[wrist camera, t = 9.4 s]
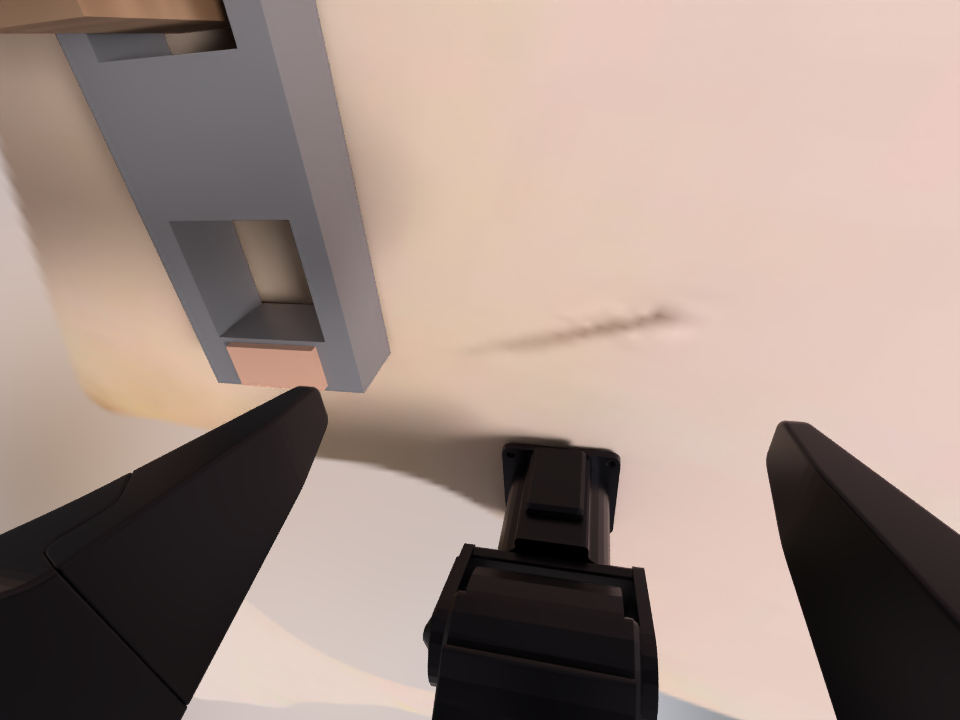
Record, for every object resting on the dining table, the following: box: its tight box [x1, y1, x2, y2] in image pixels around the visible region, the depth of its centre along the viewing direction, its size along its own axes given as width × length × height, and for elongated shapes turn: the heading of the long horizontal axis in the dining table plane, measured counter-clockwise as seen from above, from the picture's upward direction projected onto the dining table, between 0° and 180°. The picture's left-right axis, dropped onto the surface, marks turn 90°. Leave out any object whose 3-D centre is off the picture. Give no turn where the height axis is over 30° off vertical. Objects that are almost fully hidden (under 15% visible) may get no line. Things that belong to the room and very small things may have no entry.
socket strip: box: [55, 0, 391, 393], centre depth 19 cm, size 22×8×4 cm, turn 4°
